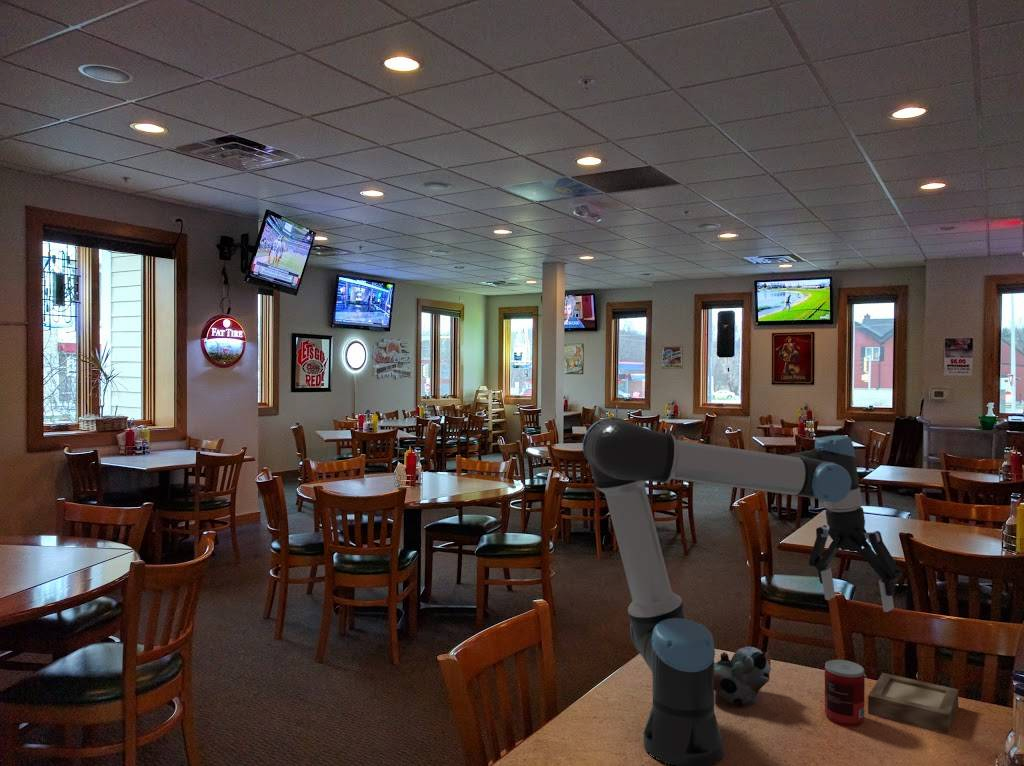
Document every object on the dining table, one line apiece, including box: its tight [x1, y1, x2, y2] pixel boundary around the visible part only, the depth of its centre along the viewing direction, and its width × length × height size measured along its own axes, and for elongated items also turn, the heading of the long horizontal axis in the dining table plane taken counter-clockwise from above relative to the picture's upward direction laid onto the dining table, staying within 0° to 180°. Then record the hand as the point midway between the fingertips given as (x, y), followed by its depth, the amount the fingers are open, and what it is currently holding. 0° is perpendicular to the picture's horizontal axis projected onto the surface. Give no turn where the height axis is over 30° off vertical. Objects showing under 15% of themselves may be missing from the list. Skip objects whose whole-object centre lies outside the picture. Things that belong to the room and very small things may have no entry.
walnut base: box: [867, 672, 959, 734], centre depth 159 cm, size 15×15×4 cm
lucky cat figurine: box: [714, 646, 772, 708], centre depth 166 cm, size 15×12×14 cm
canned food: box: [824, 659, 866, 728], centre depth 155 cm, size 8×8×11 cm
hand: (858, 604), depth 159 cm, fingers open, 13 cm apart
